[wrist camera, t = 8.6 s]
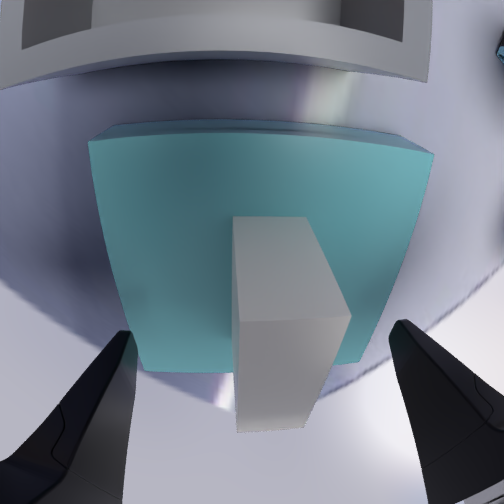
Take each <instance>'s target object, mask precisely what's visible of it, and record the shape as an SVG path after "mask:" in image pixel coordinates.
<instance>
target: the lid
mask: <svg viewBox="0 0 504 504" xmlns="http://www.w3.org/2000/svg"><path fill="white" fill-rule="evenodd" d="M88 149H89V157H90V164H91V171H92V177H93V184H94V190H95V195H96V201H97V206H98V211H99V216H100V221H101V226H102V231H103V235H104V240H105V244H106V248H107V252H108V256H109V260H110V264H111V268H112V272H113V276H114V279H115V283H116V287H117V290H118V293H119V297H120V300H121V304H122V307H123V310H124V313H125V316H126V319H127V322H128V326H129V329H130V331H131V332H132V333H133V336H134V339H135V341H136V344H137V348H138V354H139V357H140V359H141V362H142V365H143V367H144V370H145V371H156V372H185V373H230V372H233V374H234V392H235V408H236V423H237V433H241V432H259V431H273V430H285V429H293V428H303V427H304V426H305V424H306V422H307V419H308V418H309V415H310V413H311V411H312V409H313V407H314V405H315V403H316V401H317V399H318V396H319V394H320V392H321V390H322V388H323V385H324V383H325V381H326V379H327V376H328V374H329V372H330V369H331V367H332V365H341V364H348V363H356V362H359V361H360V359H361V357H362V355H363V353H364V351H365V349H366V347H367V345H368V343H369V341H370V339H371V336H372V334H373V332H374V330H375V328H376V326H377V323H378V321H379V319H380V317H381V314H382V312H383V310H384V307H385V305H386V303H387V300H388V298H389V295H390V293H391V291H392V288H393V286H394V283H395V280H396V278H397V275H398V273H399V270H400V267H401V265H402V262H403V259H404V256H405V254H406V251H407V248H408V245H409V242H410V239H411V236H412V233H413V230H414V227H415V224H416V221H417V217H418V214H419V211H420V207H421V204H422V200H423V197H424V193H425V190H426V186H427V182H428V178H429V174H430V170H431V166H432V162H433V158H434V154H433V153H431V152H429V151H428V150H426V149H424V148H422V147H420V146H419V145H417V144H415V143H413V142H411V141H409V140H407V139H405V138H404V137H402V136H398V135H393V134H387V133H381V132H375V131H369V130H362V129H355V128H348V127H340V126H331V125H322V124H311V123H300V122H286V121H269V120H238V119H205V120H174V121H157V122H143V123H132V124H122V125H114V126H112V127H110V128H109V129H107V130H105V131H104V132H102V133H100V134H99V135H97V136H96V137H94V138H93V139H91V140H89V141H88Z"/></svg>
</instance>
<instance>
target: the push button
mask: <svg viewBox="0 0 504 504" xmlns="http://www.w3.org/2000/svg"><path fill="white" fill-rule="evenodd" d="M497 56H498V58H499V59H500V60H501V61H502V62H503V64H504V38H503V40H502V43H501V45H500V48H499V50H498V52H497Z"/></svg>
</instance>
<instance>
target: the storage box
mask: <svg viewBox="0 0 504 504" xmlns="http://www.w3.org/2000/svg"><path fill="white" fill-rule="evenodd" d="M431 33H432V0H2V3H1V12H0V90H2V89H6V88H9V87H13V86H18V85H22V84H26V83H31V82H36V81H41V80H46V79H51V78H57V77H63V76H70V75H77V74H83V73H88V72H93V71H98V70H104V69H110V68H116V67H123V66H130V65H138V64H146V63H156V62H168V61H184V60H257V61H273V62H285V63H295V64H304V65H312V66H320V67H326V68H333V69H339V70H345V71H351V72H361V73H369V74H377V75H385V76H391V77H398V78H404V79H409V80H415V81H420V82H425V83H427V79H428V70H429V60H430V48H431Z"/></svg>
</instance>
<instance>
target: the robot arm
mask: <svg viewBox="0 0 504 504" xmlns="http://www.w3.org/2000/svg"><path fill="white" fill-rule="evenodd" d="M389 344H390V349H391V353H392V358H393V362H394V367H395V372H396V376H397V379H398V383H399V386H400V390H401V393H402V396H403V400H404V403H405V406H406V410H407V413H408V417H409V420H410V424H411V428H412V432H413V435H414V439H415V443H416V447H417V451H418V456H419V459H420V464H421V468H422V474H423V478H424V483H425V488H426V493H427V499H428V504H455V503H457V502H460V501H462V500H464V503H465V504H504V396H503V395H502V394H500V393H499V392H498V391H496V390H495V389H494V388H492V387H491V386H489V385H488V384H487V383H486V382H485V381H483V380H482V379H481V378H480V377H478V376H477V375H476V374H475V373H473V372H472V371H471V370H470V369H469V368H468V367H466V366H465V365H464V364H463V363H462V362H460V361H459V360H458V359H457V358H455V357H454V356H453V355H452V354H451V353H449V352H448V351H447V350H446V349H444V348H443V347H442V346H441V345H439V344H438V343H437V342H435V341H434V340H433V339H432V338H431V337H429V336H428V335H427V334H426V333H424V332H423V331H422V330H421V329H419V328H418V327H417V326H415V325H414V324H413V323H412V322H410V321H409V320H407V319H402V320H397V321H396V323H395V324H394V326H393V328H392V330H391V332H390V334H389ZM137 358H138V348H137V344H136V341H135V339H134V336H133V333H132V332H131V331H127V330H120V331H119V332H117V334H116V335H115V336H114V337H113V338H112V339H111V341H110V342H109V343H108V344H107V345H106V346H105V348H104V349H103V350H102V351H101V352H100V354H99V355H98V356H97V357H96V358H95V360H94V361H93V362H92V363H91V364H90V365H89V367H88V368H87V369H86V370H85V371H84V373H83V374H82V375H81V376H80V378H79V379H78V380H77V381H76V382H75V384H74V385H73V386H72V387H71V389H70V390H69V391H68V392H67V393H66V395H65V396H64V397H63V399H62V400H61V401H60V403H59V404H58V405H57V406H56V407H55V409H54V410H53V411H52V412H51V413H50V415H49V416H48V417H47V418H46V419H45V421H44V422H43V423H42V424H41V425H40V426H39V427H38V428H37V430H36V431H35V432H34V433H33V434H32V435H31V436H30V437H29V438H28V439H27V440H26V441H25V442H24V443H23V444H22V445H21V446H20V447H19V448H18V449H17V450H16V451H15V452H14V453H13V454H12V455H11V456H9V457H8V458H7V459H5V460H3V461H0V504H122V498H123V485H124V475H125V465H126V456H127V447H128V440H129V433H130V425H131V419H132V412H133V405H134V400H135V390H136V373H137Z"/></svg>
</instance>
